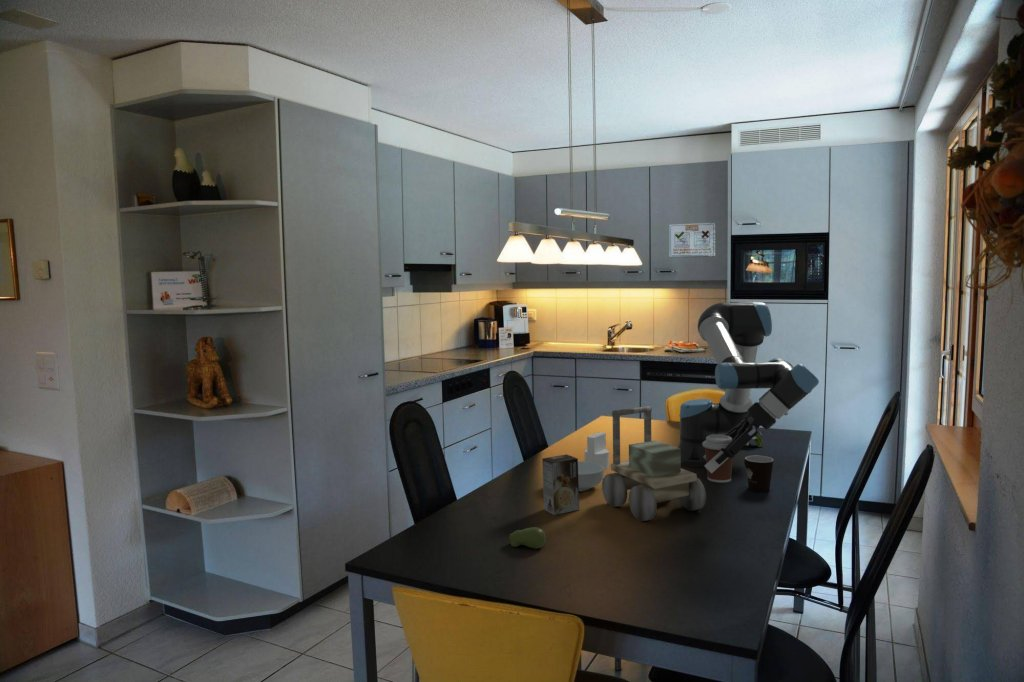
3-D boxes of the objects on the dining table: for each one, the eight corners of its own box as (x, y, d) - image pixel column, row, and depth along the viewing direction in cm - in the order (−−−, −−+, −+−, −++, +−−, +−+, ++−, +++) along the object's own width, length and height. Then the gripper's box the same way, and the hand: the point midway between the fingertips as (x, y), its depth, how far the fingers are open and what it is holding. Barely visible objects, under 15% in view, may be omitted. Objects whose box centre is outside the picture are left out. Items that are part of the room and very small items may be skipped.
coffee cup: (701, 482, 187) (700, 440, 186) (703, 473, 195) (703, 432, 194) (735, 485, 183) (735, 442, 182) (736, 475, 192) (736, 434, 191)
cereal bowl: (613, 486, 225) (613, 466, 224) (584, 499, 212) (583, 477, 212) (573, 477, 236) (573, 457, 236) (543, 488, 224) (542, 468, 223)
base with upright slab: (601, 471, 242) (601, 438, 241) (580, 467, 248) (579, 435, 247) (613, 465, 250) (613, 434, 248) (592, 462, 255) (592, 431, 254)
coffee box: (568, 504, 208) (567, 453, 207) (579, 510, 202) (579, 458, 201) (542, 509, 204) (541, 457, 202) (553, 515, 198) (552, 462, 197)
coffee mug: (775, 493, 213) (775, 462, 212) (747, 492, 215) (747, 462, 214) (769, 482, 224) (769, 453, 223) (742, 481, 226) (742, 452, 225)
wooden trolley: (602, 501, 209) (601, 410, 207) (655, 491, 218) (654, 403, 216) (649, 526, 188) (649, 424, 185) (706, 513, 197) (706, 416, 194)
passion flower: (740, 460, 272) (722, 436, 273) (747, 449, 281) (729, 426, 282) (763, 448, 265) (745, 423, 267) (769, 437, 274) (751, 413, 275)
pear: (538, 531, 171) (504, 532, 175) (542, 551, 171) (507, 552, 176) (546, 524, 176) (513, 525, 180) (550, 543, 176) (516, 544, 181)
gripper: (783, 429, 173) (719, 485, 179) (772, 412, 194) (715, 463, 200) (761, 408, 174) (698, 465, 180) (753, 394, 195) (696, 445, 201)
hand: (707, 464), depth 190 cm, fingers closed on coffee cup, 9 cm apart
